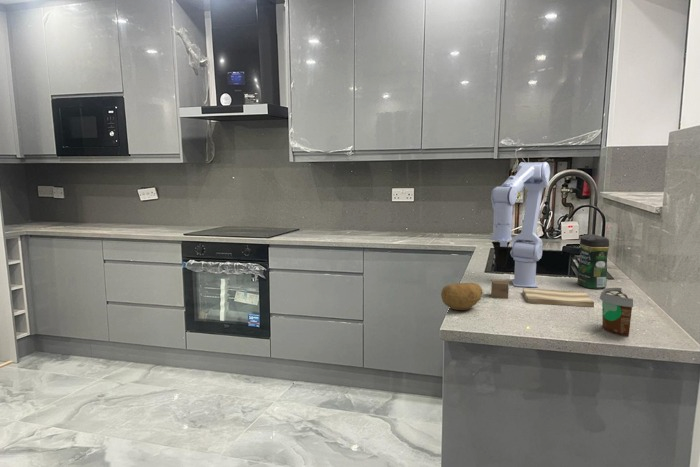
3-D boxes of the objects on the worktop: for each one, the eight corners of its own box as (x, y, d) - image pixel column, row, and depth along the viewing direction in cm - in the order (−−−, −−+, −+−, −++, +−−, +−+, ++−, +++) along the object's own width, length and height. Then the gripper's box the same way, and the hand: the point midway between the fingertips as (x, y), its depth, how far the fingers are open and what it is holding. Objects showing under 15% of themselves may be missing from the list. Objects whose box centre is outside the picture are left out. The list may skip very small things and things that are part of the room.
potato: (491, 309, 143) (492, 283, 142) (455, 316, 136) (456, 289, 135) (468, 301, 151) (469, 277, 150) (433, 308, 144) (433, 282, 143)
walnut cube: (491, 294, 161) (491, 279, 160) (506, 295, 160) (507, 280, 159) (492, 298, 156) (492, 283, 155) (508, 299, 155) (508, 283, 154)
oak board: (522, 292, 162) (522, 288, 162) (583, 296, 158) (583, 291, 158) (527, 303, 150) (527, 298, 149) (593, 307, 145) (594, 302, 145)
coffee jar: (573, 283, 175) (576, 233, 173) (593, 282, 176) (597, 232, 174) (588, 290, 166) (592, 237, 163) (610, 289, 167) (614, 236, 164)
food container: (593, 321, 132) (595, 285, 131) (618, 323, 130) (621, 287, 129) (602, 335, 120) (605, 297, 119) (630, 338, 119) (633, 299, 117)
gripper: (488, 221, 162) (487, 260, 164) (490, 226, 148) (489, 269, 150) (510, 221, 161) (508, 261, 163) (514, 226, 147) (512, 270, 149)
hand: (500, 265), depth 156 cm, fingers open, 7 cm apart
